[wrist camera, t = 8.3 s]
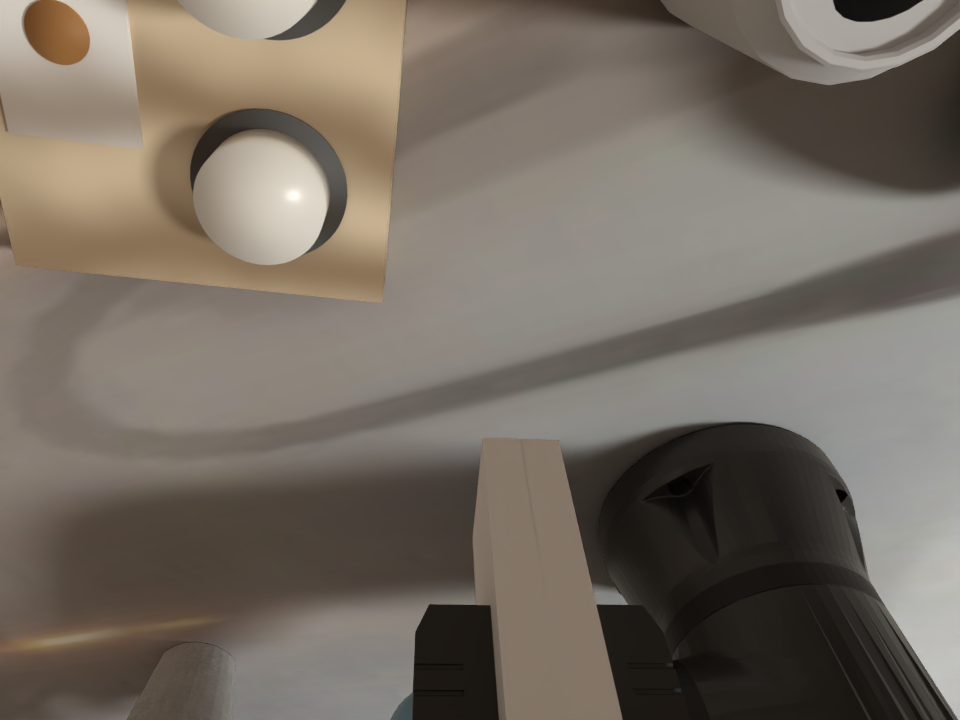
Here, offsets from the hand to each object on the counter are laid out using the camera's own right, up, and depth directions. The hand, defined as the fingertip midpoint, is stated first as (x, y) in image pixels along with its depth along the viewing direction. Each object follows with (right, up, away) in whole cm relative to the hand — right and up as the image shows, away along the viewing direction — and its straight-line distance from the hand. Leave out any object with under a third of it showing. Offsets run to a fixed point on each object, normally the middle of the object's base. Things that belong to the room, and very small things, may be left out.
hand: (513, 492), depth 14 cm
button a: (-10, +10, +15) cm, 20 cm away
